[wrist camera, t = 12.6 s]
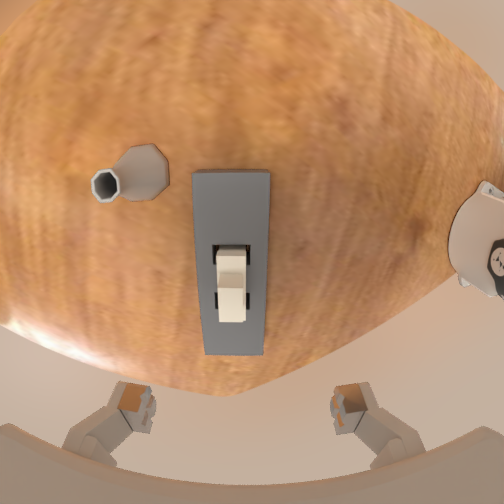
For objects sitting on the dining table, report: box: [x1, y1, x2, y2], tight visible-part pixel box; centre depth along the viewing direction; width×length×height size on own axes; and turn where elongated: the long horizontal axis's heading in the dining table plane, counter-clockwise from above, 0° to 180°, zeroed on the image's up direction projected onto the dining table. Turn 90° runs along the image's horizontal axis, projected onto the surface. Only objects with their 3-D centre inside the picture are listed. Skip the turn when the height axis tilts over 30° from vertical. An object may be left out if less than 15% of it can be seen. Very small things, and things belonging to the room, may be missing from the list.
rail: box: [192, 169, 270, 356], centre depth 34 cm, size 8×24×4 cm, turn 179°
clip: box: [216, 245, 246, 322], centre depth 31 cm, size 3×8×10 cm, turn 179°
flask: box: [91, 144, 169, 203], centre depth 26 cm, size 7×7×10 cm
